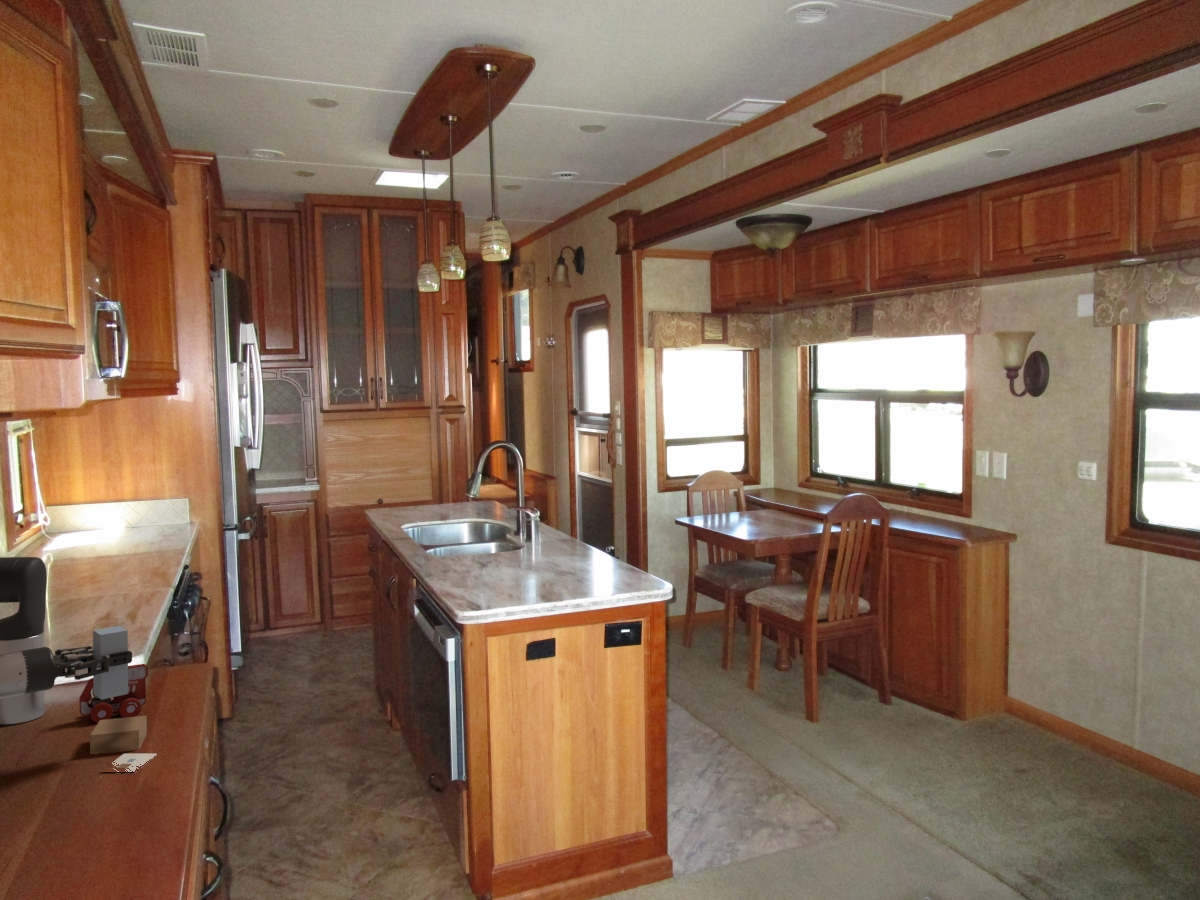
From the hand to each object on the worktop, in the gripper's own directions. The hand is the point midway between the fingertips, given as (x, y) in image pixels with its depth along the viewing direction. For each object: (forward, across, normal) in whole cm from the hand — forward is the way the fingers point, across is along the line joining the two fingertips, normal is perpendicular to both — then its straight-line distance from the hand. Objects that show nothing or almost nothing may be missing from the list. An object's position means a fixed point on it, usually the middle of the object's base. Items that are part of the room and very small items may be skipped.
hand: (126, 653), depth 157 cm
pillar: (-3, 0, +7) cm, 8 cm away
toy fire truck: (+4, +19, +18) cm, 27 cm away
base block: (-1, +2, +18) cm, 18 cm away
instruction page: (-2, -9, +18) cm, 20 cm away
